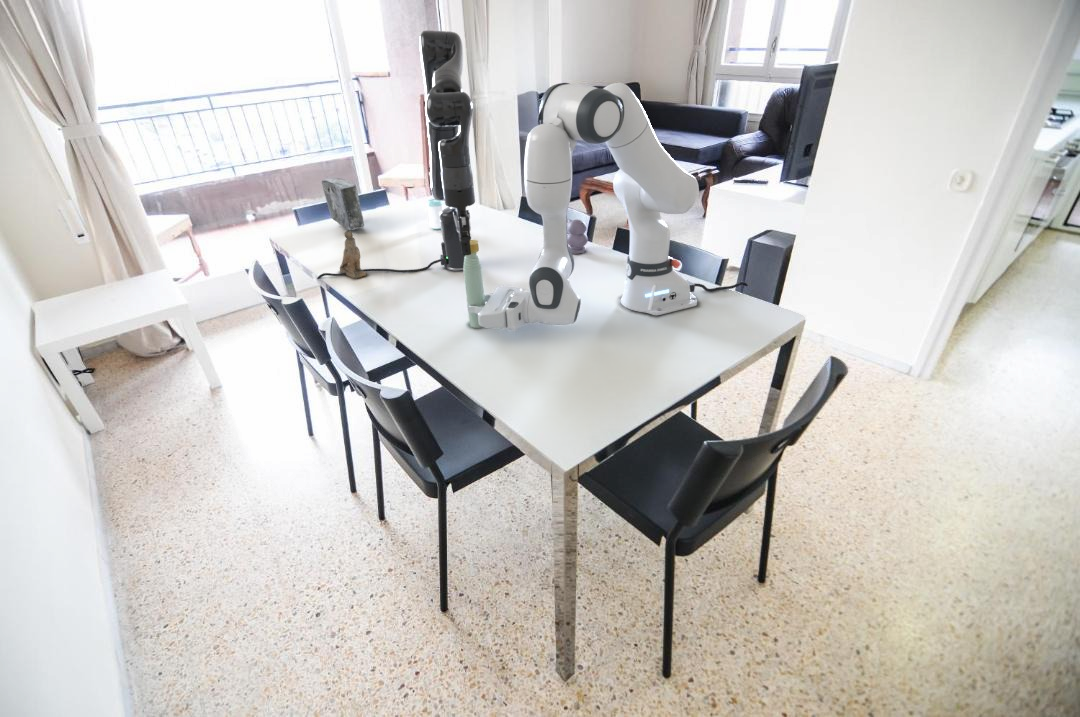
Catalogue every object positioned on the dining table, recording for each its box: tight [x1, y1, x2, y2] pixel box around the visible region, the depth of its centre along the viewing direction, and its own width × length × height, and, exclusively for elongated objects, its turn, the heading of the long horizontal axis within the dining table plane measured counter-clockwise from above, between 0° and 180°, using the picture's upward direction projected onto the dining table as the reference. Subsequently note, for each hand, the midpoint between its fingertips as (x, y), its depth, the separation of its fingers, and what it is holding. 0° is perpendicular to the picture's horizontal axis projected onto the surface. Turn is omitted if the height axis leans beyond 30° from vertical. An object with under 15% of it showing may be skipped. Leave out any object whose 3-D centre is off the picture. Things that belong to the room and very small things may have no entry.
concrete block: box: [321, 177, 365, 231], centre depth 223 cm, size 27×9×20 cm, turn 36°
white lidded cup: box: [426, 198, 445, 230], centre depth 220 cm, size 7×7×12 cm
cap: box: [470, 239, 480, 254], centre depth 130 cm, size 4×4×2 cm
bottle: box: [462, 252, 486, 329], centre depth 135 cm, size 5×5×23 cm
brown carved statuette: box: [339, 230, 367, 280], centre depth 174 cm, size 12×6×18 cm, turn 43°
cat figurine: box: [567, 218, 589, 255], centre depth 187 cm, size 9×8×12 cm
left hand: (465, 249), depth 130 cm, fingers open, 7 cm apart
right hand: (473, 303), depth 138 cm, fingers closed on bottle, 5 cm apart
